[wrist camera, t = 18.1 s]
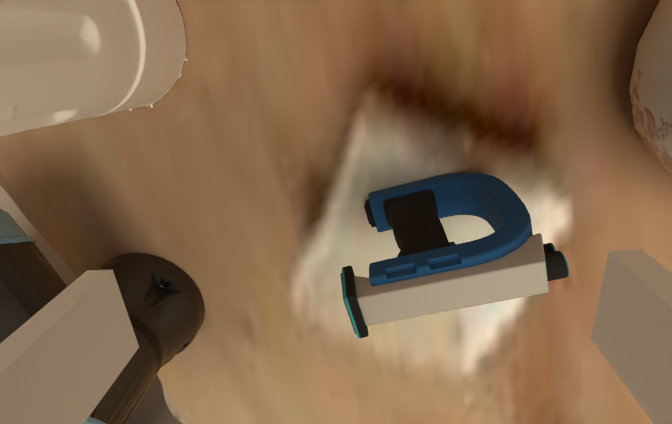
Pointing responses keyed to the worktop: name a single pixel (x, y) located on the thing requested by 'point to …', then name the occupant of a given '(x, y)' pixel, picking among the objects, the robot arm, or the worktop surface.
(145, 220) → the worktop surface
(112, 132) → the worktop surface
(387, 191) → the handheld scanner
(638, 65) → the chamber pot
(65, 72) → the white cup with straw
